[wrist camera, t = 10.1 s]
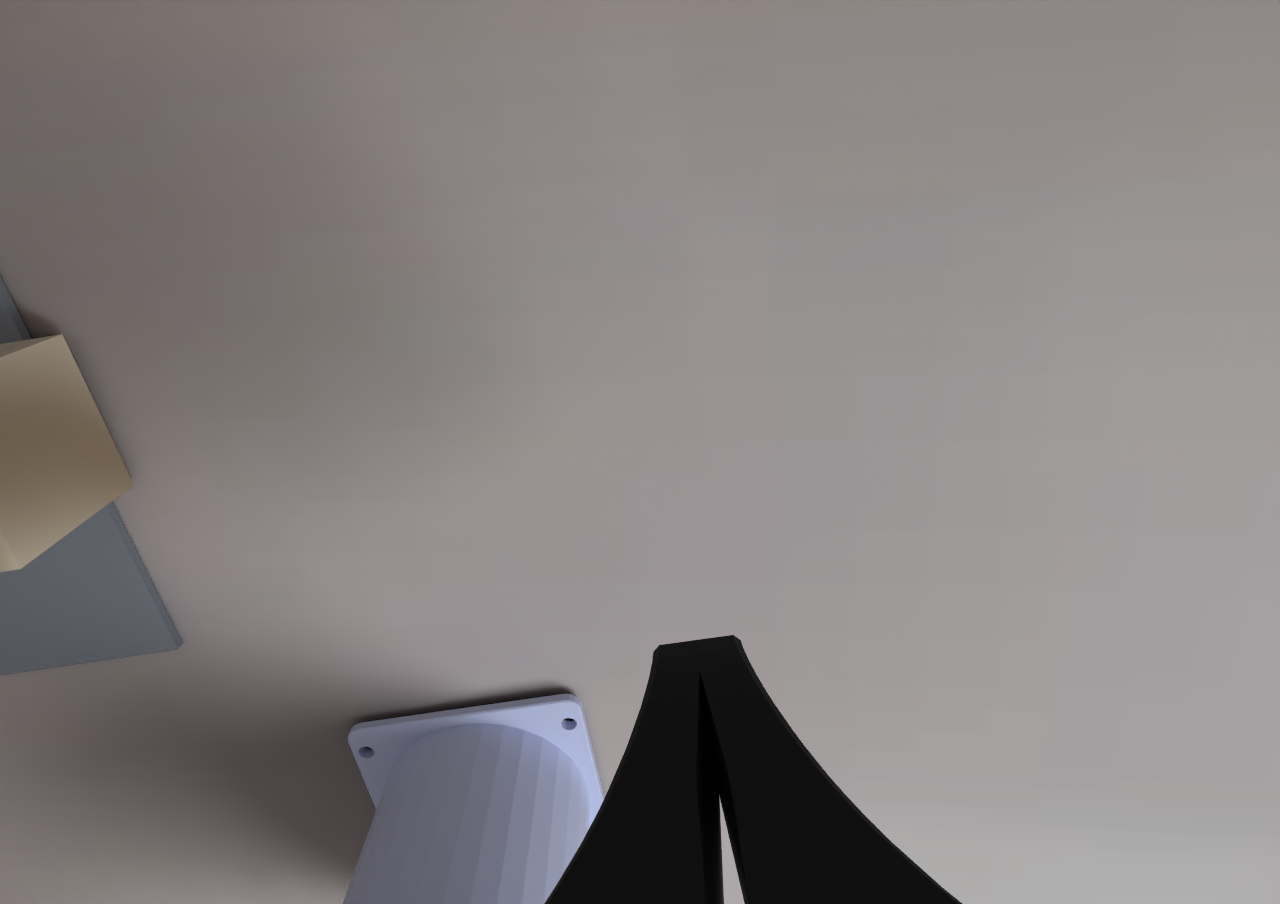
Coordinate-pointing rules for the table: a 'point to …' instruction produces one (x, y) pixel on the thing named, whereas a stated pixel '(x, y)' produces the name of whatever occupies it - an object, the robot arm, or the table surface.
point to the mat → (78, 587)
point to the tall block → (49, 450)
